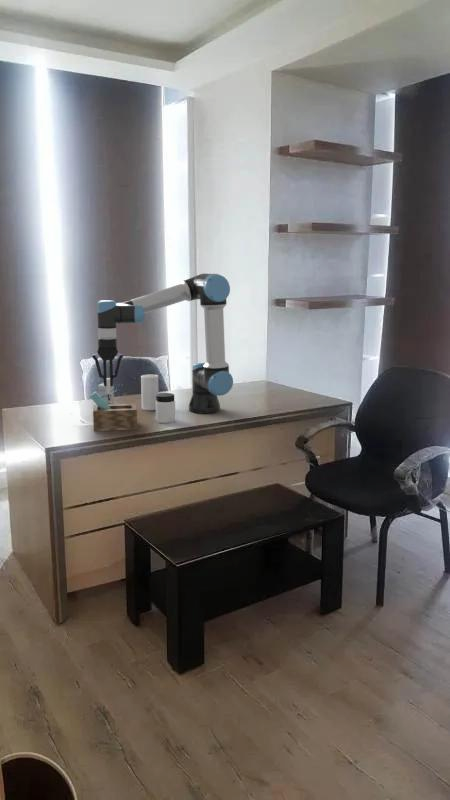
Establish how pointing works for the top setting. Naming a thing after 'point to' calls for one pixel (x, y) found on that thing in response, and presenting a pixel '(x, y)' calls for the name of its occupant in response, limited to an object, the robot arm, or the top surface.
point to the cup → (149, 391)
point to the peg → (99, 401)
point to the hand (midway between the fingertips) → (108, 393)
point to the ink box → (103, 393)
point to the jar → (165, 408)
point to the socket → (115, 417)
